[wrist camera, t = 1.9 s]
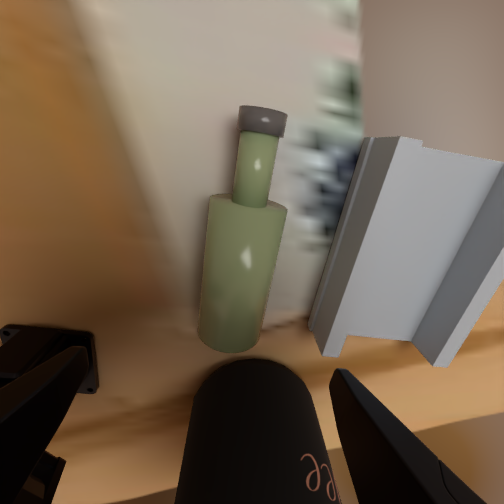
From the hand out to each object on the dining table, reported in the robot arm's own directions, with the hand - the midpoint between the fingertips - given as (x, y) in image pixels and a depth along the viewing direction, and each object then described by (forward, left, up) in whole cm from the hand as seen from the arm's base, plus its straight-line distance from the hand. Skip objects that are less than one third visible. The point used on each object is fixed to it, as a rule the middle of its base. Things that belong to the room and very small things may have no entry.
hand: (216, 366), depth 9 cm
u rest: (+2, -12, -9) cm, 15 cm away
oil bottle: (+2, 0, -9) cm, 10 cm away
